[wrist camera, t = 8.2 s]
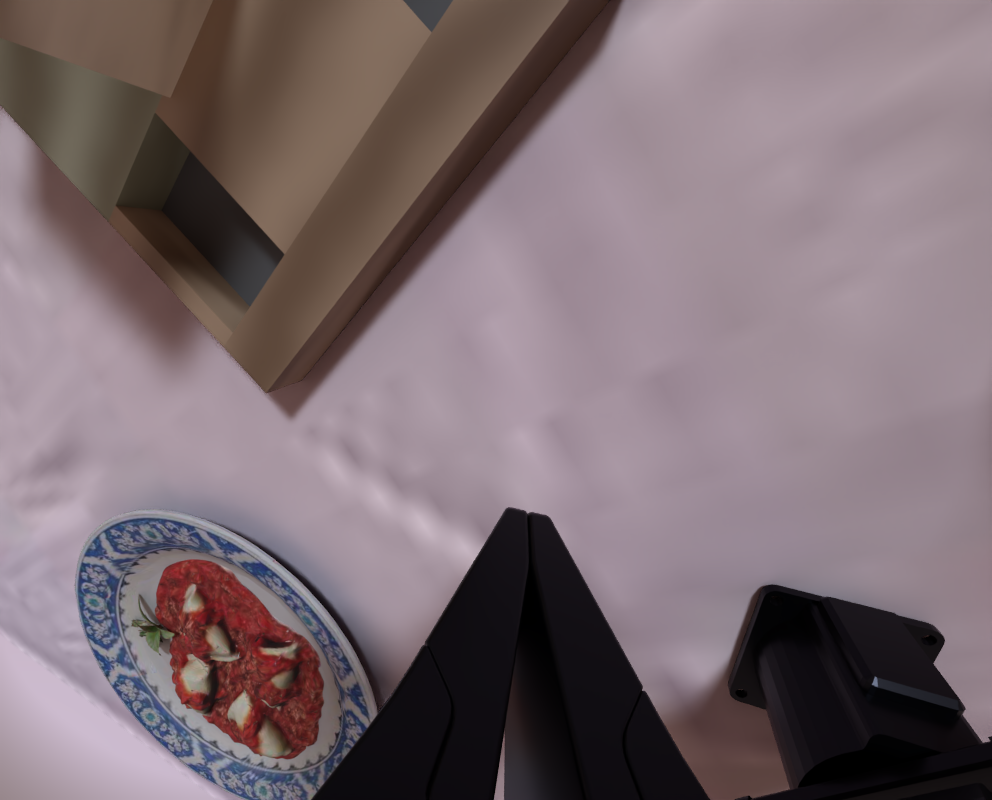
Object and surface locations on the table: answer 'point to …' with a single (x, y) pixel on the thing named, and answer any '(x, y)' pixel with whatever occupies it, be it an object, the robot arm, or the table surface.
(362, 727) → the ceramic plate
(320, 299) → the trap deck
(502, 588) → the robot arm
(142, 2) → the birch block
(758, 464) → the table surface
